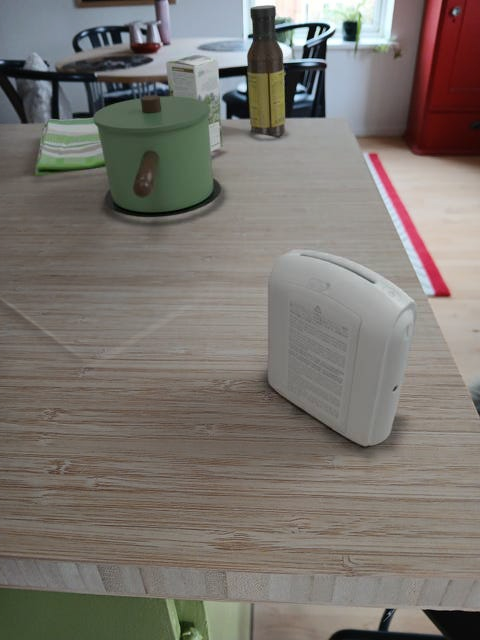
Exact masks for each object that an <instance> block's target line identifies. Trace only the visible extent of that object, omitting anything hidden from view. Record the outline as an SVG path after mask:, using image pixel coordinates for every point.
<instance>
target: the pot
mask: <svg viewBox="0 0 480 640" xmlns="http://www.w3.org/2000/svg"><path fill="white" fill-rule="evenodd" d="M209 114H210V107H209V105H208V104H207V103H206V102H204V101H201V100H198V99H193V98H187V97H171V96H169V95H168V96H159V95H157V94H153V95H152V94H151V95H150V94H149V95H144V96H141V97H140V98H134V99H133V98H132V99H129V100H124V101H120V102H115V103H113V104H110V105H106V106H105V107H102V108H101V109H99V110H97V111H96V112H95V113H94V114H93V116H92V118H93V120H94V123H95V125H96V126H97V127H98V132H99V137H100V142H101V146H102V151H103V156H104V161H105V166H106V167H105V170H106V175H107V180H108V181H107V182H108V185H109V190H111V195H112V199H113V201H114V202H115V204H117V205H118V206H120V207H122V208H124V209H127V210H132V211H137V212H167V211H174V210H179V209H183V208H187V207H190V206H193V205H195V204H197V203H200V202H201V201H203V200H205V199H206V198H207V197H209V196H210V195H211V193H212V191H213V188H214V186H213V178H214V176H213V162H212V152H211V148H210V135H209V122H208V116H209Z"/></svg>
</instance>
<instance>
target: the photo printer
mask: <svg viewBox="0 0 480 640" xmlns="http://www.w3.org/2000/svg"><path fill="white" fill-rule="evenodd" d="M268 276H269V277H268V281H267V381H268V384H269V386H270V387H271V388H272V389H274V391H275V392H276V393H278V394H279V395H281V396H282V397H284V398H285V399H286V400H288V401H289V402H290V403H292V404H294V405H295V406H297V407H298V408H300V409H301V410H303V411H305V412H306V413H307V414H309V415H310V416H312V417H313V418H315V419H317V420H318V421H320V422H321V423H323V424H324V425H325V426H327V427H329V428H331V429H332V430H333V431H335V432H336V433H338V434H340V435H342V436H343V437H345V438H347V439H348V440H350V441H352V442H353V443H356V444H358V445H360V446H362V447H367V446H371V447H372V446H376V445H379V444H381V443H383V442H384V441H386V440H387V438H388V437H389V436H390V434H391V432H392V429H393V425H394V424H393V423H394V419H395V417H396V413H397V409H398V406H399V402H400V396H401V392H402V388H403V384H404V383H403V382H404V378H405V374H406V368H407V364H408V360H409V354H410V350H411V346H412V341H413V337H414V332H415V326H416V322H417V318H418V305H417V303H416V301H415V300H414V299H413V298H412V297H411V296H410V295H409V294H407V293H406V292H405V291H404V290H403V289H401V288H400V287H399V286H397V284H395V283H393V282H391V281H390V280H388V278H386V277H384V276H383V275H381V274H379V273H377V272H375V271H374V270H371V269H370V268H368V267H366V266H364V265H362V264H359V263H357V262H355V261H353V260H350V259H347V258H344V257H342V256H339V255H336V254H332V253H328V252H324V251H319V250H311V249H290V250H289V251H288V252H287V253H284V254H280V255H279V256H278V257H277V259H276V260H275V262H274V264H273V265H272V268H271V270H270V273H269V275H268Z"/></svg>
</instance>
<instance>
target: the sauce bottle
mask: <svg viewBox="0 0 480 640" xmlns="http://www.w3.org/2000/svg"><path fill="white" fill-rule="evenodd" d="M276 8H277V7H276V6H275V5H273V4H272V5H270V4H266V5H256V6H252V7H250V9H249V10H250V11H249V12H250V19H251V26H252V29H251V30H252V42H251V44H250V47H249V48H248V51H247V54H246V63H247V71H246V72H247V90H248V106H249V107H248V109H249V123H250V125H251V126H250V127H251V133H255V134H258V135H263V136H267V137H273V138H279V137H281V136H282V135H284V133H285V131H286V130H285V123H286V102H285V101H286V100H285V99H286V98H285V96H286V95H285V68H284V52H283V50H282V47H281V46H280V43H279V42H278V40H277V33H276V16H277V9H276Z"/></svg>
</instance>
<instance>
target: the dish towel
mask: <svg viewBox="0 0 480 640" xmlns="http://www.w3.org/2000/svg"><path fill="white" fill-rule="evenodd" d="M103 168H106V166H105V161H104V156H103V151H102V146H101V142H100V137H99V132H98V127H97V126H96V125H95V123H94V120H93V117H88V118H72V119H56V118H47V120H46V124H45V125H44V126H43V128H42V135H41V138H40V141H39V150H38V152H37V159H36V164H35V171H34V176H35V177H36V176H46V175H52V174H60V173H70V172H77V171H85V170H92V169H103Z"/></svg>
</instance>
